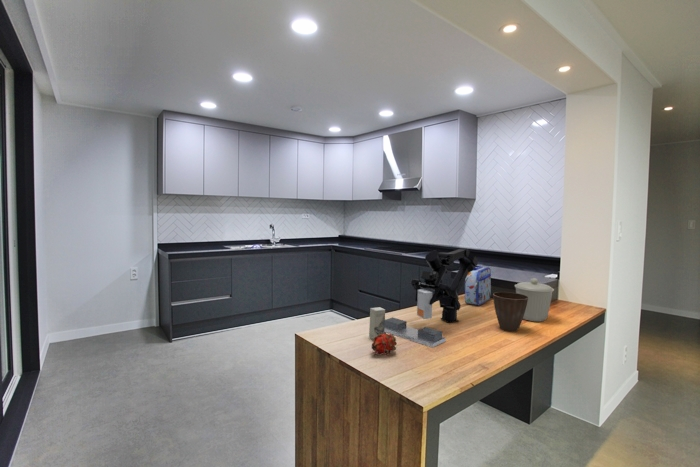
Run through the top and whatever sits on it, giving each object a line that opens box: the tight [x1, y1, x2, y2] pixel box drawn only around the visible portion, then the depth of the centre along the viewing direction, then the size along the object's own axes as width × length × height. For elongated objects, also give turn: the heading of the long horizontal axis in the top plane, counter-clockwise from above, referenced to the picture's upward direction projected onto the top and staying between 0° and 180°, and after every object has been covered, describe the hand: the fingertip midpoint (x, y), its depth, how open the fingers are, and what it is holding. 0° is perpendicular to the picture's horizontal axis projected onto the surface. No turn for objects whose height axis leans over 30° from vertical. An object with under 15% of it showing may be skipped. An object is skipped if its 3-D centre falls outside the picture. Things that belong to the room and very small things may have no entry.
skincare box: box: [416, 288, 433, 320], centre depth 161 cm, size 6×4×12 cm
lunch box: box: [464, 266, 492, 306], centre depth 215 cm, size 28×10×22 cm, turn 145°
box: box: [368, 306, 386, 341], centre depth 150 cm, size 5×4×13 cm
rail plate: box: [384, 317, 447, 348], centre depth 155 cm, size 10×27×4 cm, turn 45°
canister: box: [514, 277, 555, 322], centre depth 183 cm, size 18×18×21 cm
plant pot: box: [492, 291, 528, 333], centre depth 166 cm, size 15×15×16 cm
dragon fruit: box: [370, 332, 398, 356], centre depth 135 cm, size 8×8×12 cm
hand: (423, 302), depth 160 cm, fingers closed on skincare box, 7 cm apart
